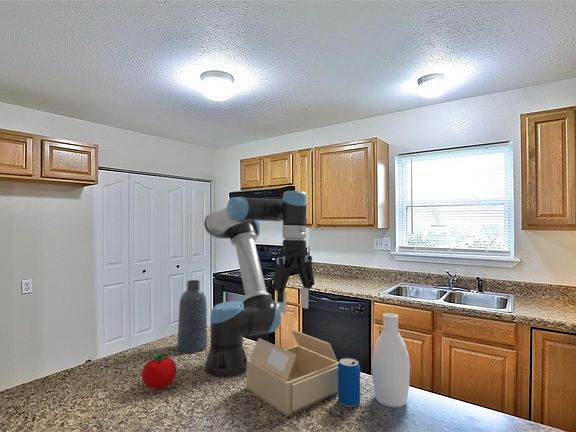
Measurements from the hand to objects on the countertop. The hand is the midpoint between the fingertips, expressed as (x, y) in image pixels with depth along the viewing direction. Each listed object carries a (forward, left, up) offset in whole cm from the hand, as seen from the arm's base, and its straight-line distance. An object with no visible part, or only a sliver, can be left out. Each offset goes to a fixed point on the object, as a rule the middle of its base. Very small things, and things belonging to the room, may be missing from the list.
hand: (293, 309), depth 107 cm
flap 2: (0, +11, -16) cm, 20 cm away
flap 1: (0, -11, -16) cm, 20 cm away
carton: (0, 0, -25) cm, 25 cm away
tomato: (-29, -32, -26) cm, 50 cm away
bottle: (+23, +19, -26) cm, 39 cm away
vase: (-55, -9, -26) cm, 61 cm away
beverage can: (+16, +8, -26) cm, 31 cm away
